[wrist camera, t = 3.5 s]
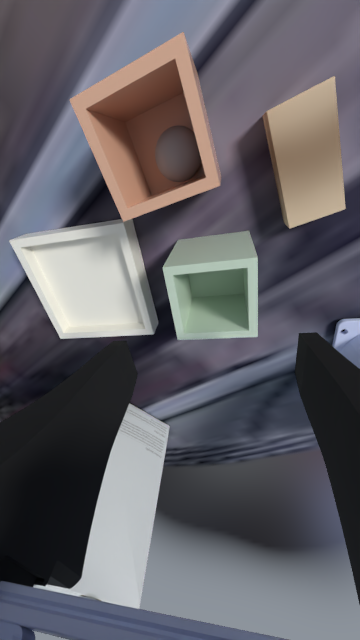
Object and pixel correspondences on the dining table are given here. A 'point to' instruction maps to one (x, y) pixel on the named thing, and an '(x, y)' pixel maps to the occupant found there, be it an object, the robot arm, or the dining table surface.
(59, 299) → the tray
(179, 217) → the dining table surface
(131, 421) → the skincare box
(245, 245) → the pot green
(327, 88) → the cedar offcut
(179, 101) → the pot terracotta
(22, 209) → the dining table surface
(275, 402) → the dining table surface
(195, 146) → the ball
